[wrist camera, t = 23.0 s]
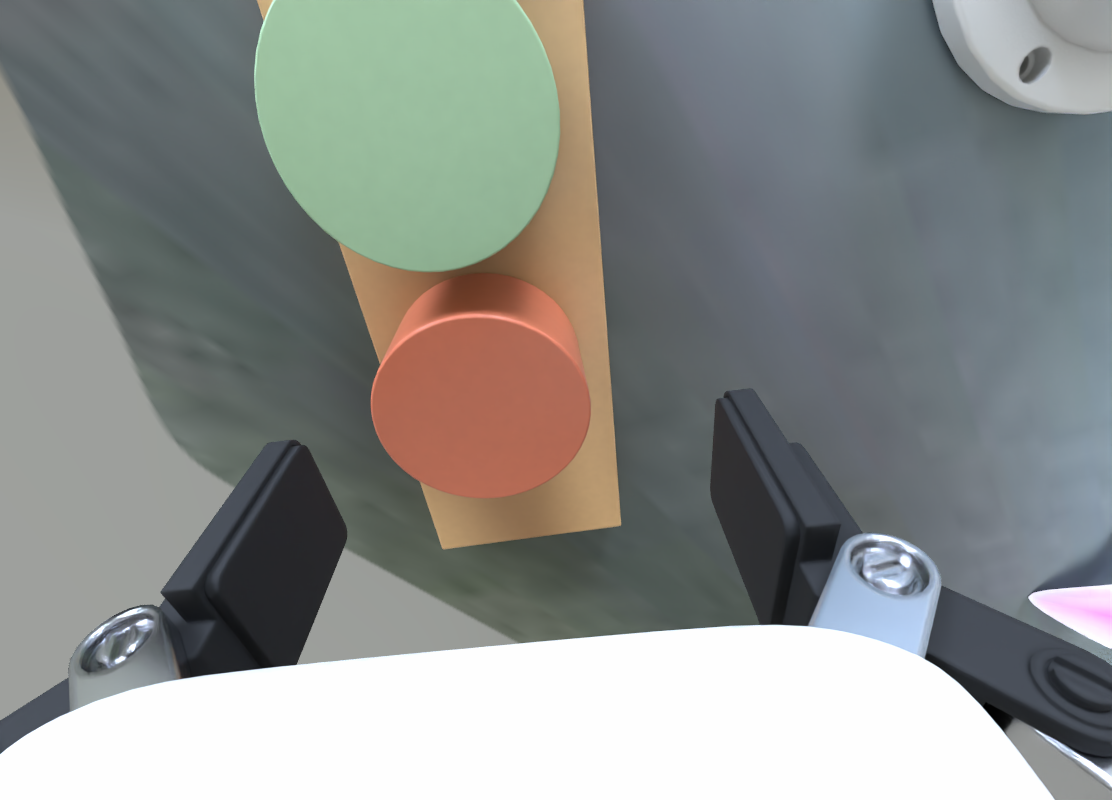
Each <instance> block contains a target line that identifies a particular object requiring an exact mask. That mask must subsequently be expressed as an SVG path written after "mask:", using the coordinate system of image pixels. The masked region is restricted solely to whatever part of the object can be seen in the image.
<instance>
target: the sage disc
mask: <svg viewBox="0 0 1112 800" xmlns="http://www.w3.org/2000/svg"><path fill="white" fill-rule="evenodd" d="M254 80H255V99H256V105H257V111H258V117H259V122H260V126H261V129H262V133H263V136H264V140H265V143H266V146H267V148H268V150H269V153H270V155H271V158H272V160H273V163H274V165H275V167H276V169H277V170H278V172H279V174H280V176H281V178H282V180H283V181H284V183H285V185H286V186H287V188H288V189H289V191H290V192H291V194H292V195H293V197H294V198H295V199H296V201H297V202H298V203H299V205H300V206H301V207H302V208H303V209H304V210H305V212H306V213H307V214H308V215H309V216H310V217H311V218H312V219H313V220H314V221H315V222H316V223H317V224H318V225H319V226H320V227H321V228H322V229H323V230H324V231H325V232H327V233H328V234H329V235H330V236H332V237H333V238H334V239H336V240H337V241H338V242H340V243H341V244H342V245H344V246H346V247H347V248H349V249H351V250H352V251H354V252H356V253H357V254H359V255H361V256H364V257H366V258H368V259H370V260H372V261H374V262H377V263H380V264H383V265H386V266H389V267H392V268H397V269H402V270H407V271H415V272H444V271H450V270H456V269H461V268H464V267H467V266H470V265H473V264H476V263H478V262H480V261H482V260H485V259H487V258H489V257H491V256H492V255H494V254H495V253H497V252H499V251H500V250H502V249H503V248H505V247H506V246H507V245H508V244H509V243H510V242H512V241H513V240H514V239H515V238H516V237H517V236H518V235H519V234H520V233H521V232H522V231H523V230H524V229H525V227H526V226H527V225H528V224H529V223H530V221H531V220H532V218H533V217H534V215H535V214H536V212H537V211H538V209H539V208H540V206H541V204H542V202H543V200H544V198H545V196H546V194H547V192H548V189H549V186H550V183H551V180H552V178H553V175H554V171H555V166H556V162H557V157H558V151H559V141H560V109H559V102H558V94H557V88H556V84H555V80H554V76H553V72H552V68H551V65H550V63H549V60H548V57H547V55H546V52H545V49H544V47H543V44H542V42H541V40H540V38H539V36H538V34H537V32H536V31H535V29H534V27H533V25H532V23H531V21H530V20H529V18H528V17H527V15H526V14H525V12H524V11H523V9H522V8H521V7H520V5H519V4H518V2H517V1H516V0H273V2H272V3H271V5H270V7H269V9H268V12H267V15H266V17H265V20H264V23H263V25H262V28H261V32H260V36H259V41H258V46H257V50H256V60H255V73H254Z"/></svg>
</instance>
